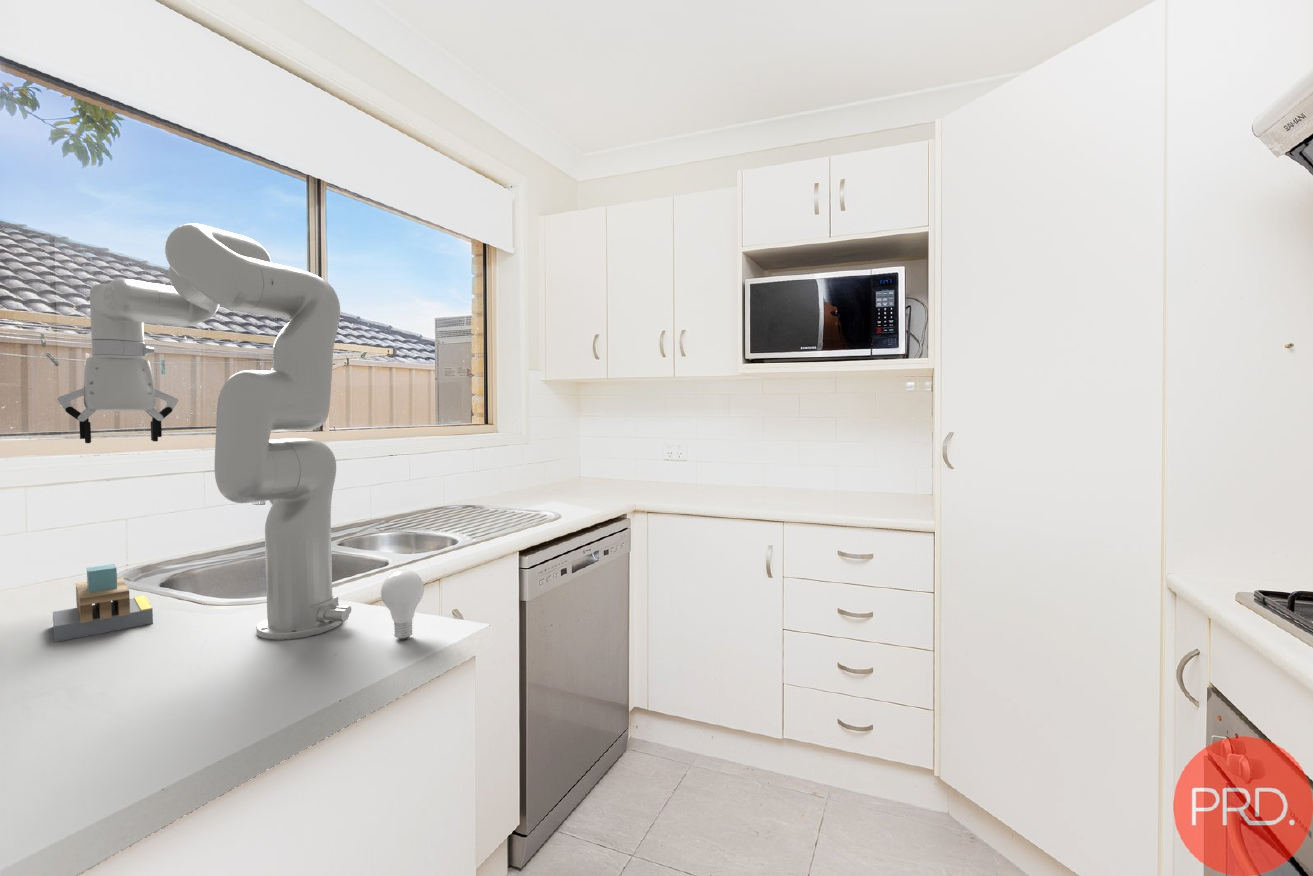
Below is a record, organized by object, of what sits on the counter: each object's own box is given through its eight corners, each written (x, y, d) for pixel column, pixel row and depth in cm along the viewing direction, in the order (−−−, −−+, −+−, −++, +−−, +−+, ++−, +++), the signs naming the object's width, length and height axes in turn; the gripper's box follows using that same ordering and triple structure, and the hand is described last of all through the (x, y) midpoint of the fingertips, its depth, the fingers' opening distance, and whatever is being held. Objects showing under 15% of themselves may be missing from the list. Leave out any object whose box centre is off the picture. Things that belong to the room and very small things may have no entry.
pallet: (130, 614, 103) (129, 590, 103) (80, 623, 98) (79, 598, 98) (122, 598, 111) (121, 576, 111) (76, 606, 107) (75, 583, 107)
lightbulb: (433, 635, 100) (432, 568, 100) (402, 649, 94) (401, 577, 94) (404, 629, 103) (403, 563, 102) (372, 642, 97) (371, 573, 96)
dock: (153, 623, 106) (152, 607, 106) (55, 642, 97) (54, 625, 97) (145, 610, 113) (144, 595, 113) (53, 626, 104) (52, 610, 104)
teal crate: (117, 588, 104) (116, 567, 104) (89, 592, 101) (88, 571, 101) (115, 584, 106) (114, 564, 106) (87, 588, 104) (86, 567, 104)
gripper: (173, 355, 126) (176, 439, 127) (54, 349, 113) (58, 443, 114) (179, 353, 120) (182, 441, 121) (55, 346, 108) (59, 444, 109)
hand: (122, 442), depth 118 cm, fingers open, 9 cm apart
